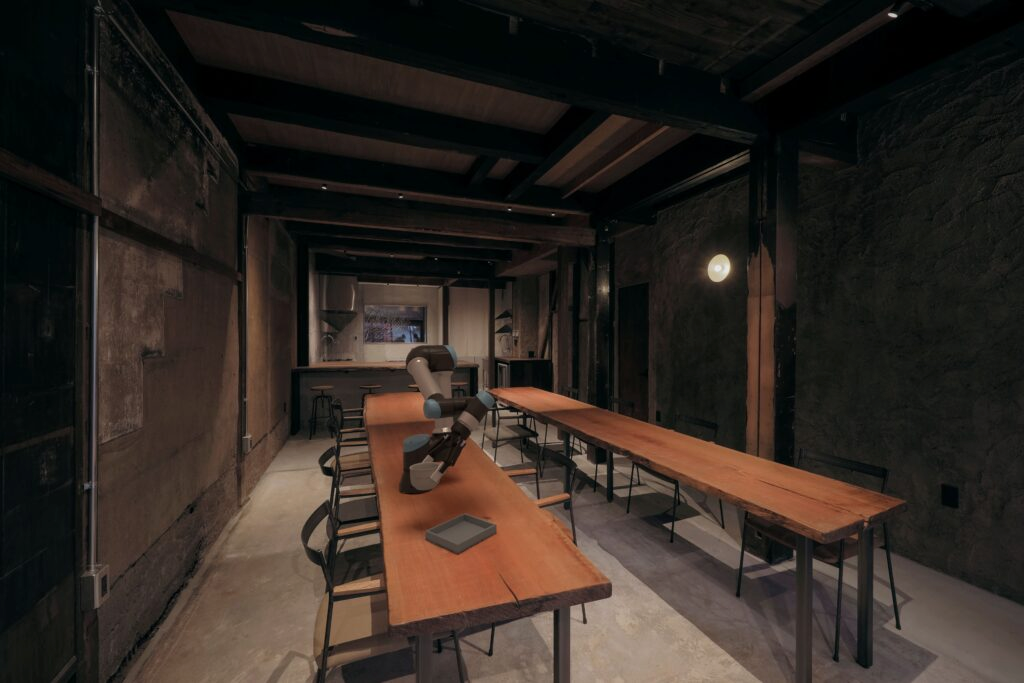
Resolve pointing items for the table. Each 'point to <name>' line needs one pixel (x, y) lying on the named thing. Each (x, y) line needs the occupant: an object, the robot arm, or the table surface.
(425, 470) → the teacup
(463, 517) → the tray
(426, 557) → the table surface
